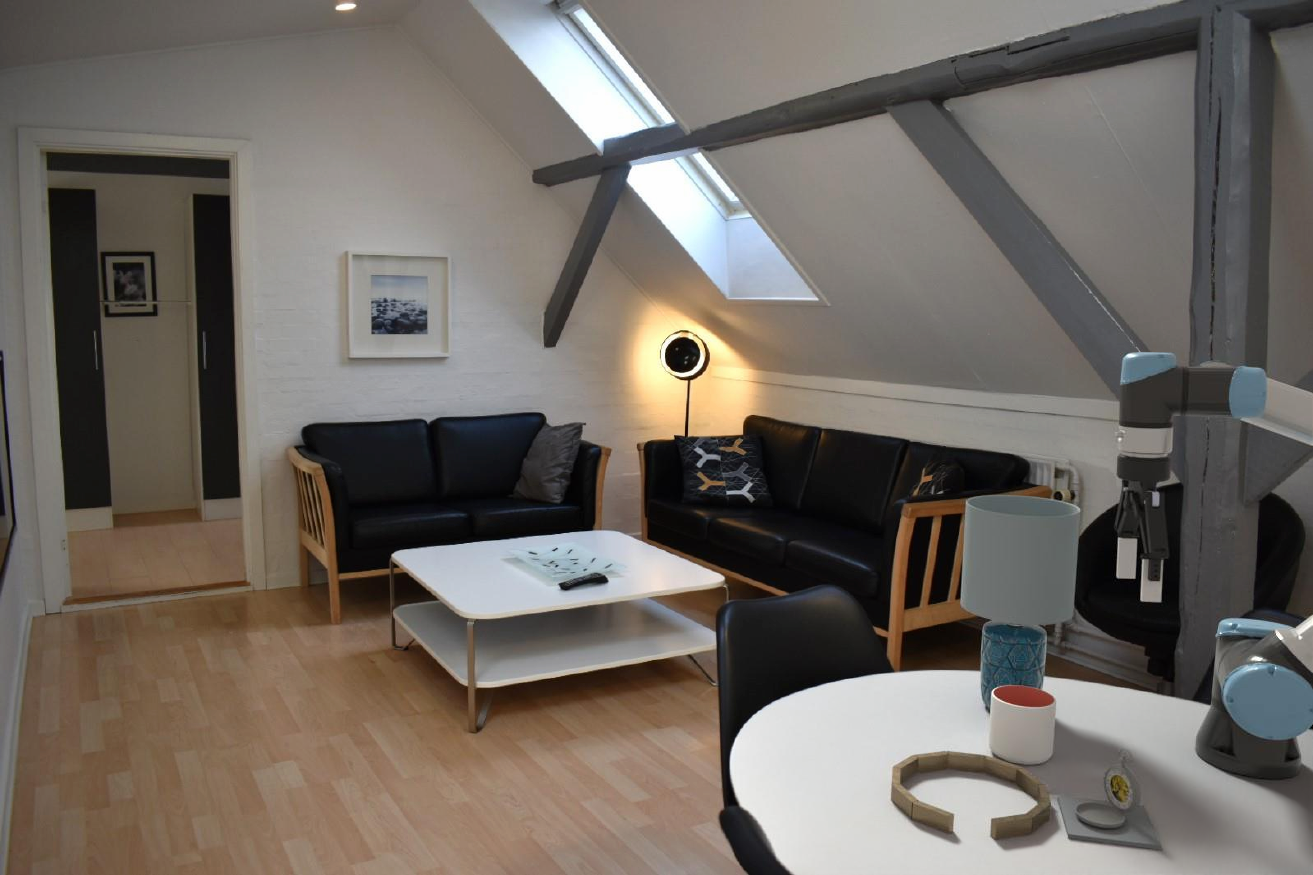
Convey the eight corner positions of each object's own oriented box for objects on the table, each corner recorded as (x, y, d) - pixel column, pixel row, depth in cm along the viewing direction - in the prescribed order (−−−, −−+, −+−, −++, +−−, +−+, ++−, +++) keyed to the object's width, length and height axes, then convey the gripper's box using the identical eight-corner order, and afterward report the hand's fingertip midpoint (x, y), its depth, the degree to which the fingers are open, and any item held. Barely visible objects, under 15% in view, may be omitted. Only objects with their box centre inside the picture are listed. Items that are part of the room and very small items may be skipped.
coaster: (1143, 808, 157) (1143, 804, 157) (1161, 849, 145) (1161, 845, 145) (1057, 798, 159) (1057, 794, 159) (1068, 837, 148) (1068, 833, 148)
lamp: (969, 728, 185) (981, 515, 180) (944, 687, 204) (954, 493, 199) (1082, 731, 184) (1097, 517, 179) (1046, 690, 203) (1058, 496, 198)
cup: (1056, 770, 169) (1061, 710, 168) (991, 764, 171) (994, 704, 170) (1047, 744, 179) (1050, 687, 177) (985, 738, 181) (988, 682, 179)
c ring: (1039, 776, 167) (1040, 761, 166) (1057, 847, 145) (1058, 830, 145) (893, 759, 172) (893, 744, 172) (889, 826, 150) (890, 809, 150)
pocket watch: (1068, 820, 151) (1072, 754, 150) (1086, 799, 158) (1091, 735, 157) (1128, 839, 146) (1134, 770, 145) (1145, 816, 153) (1150, 750, 152)
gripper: (1098, 442, 175) (1092, 568, 178) (1141, 465, 151) (1134, 611, 154) (1146, 443, 174) (1140, 569, 177) (1198, 466, 150) (1190, 612, 152)
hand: (1137, 589), depth 165 cm, fingers open, 13 cm apart
